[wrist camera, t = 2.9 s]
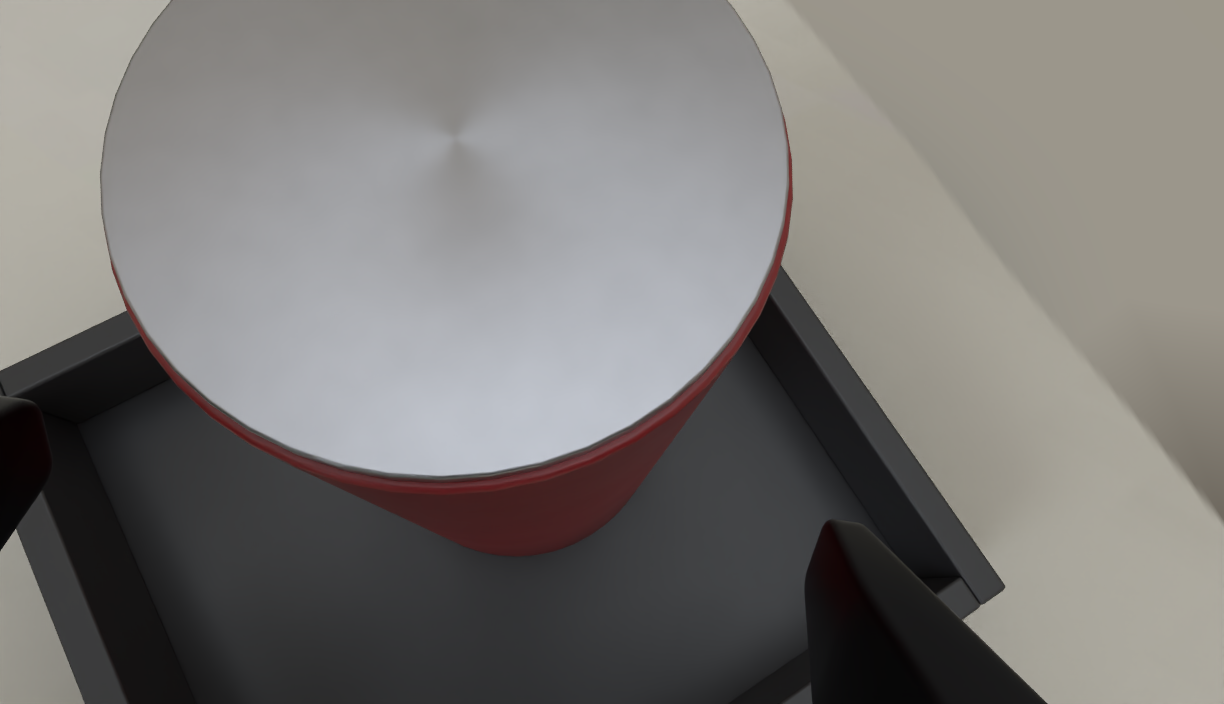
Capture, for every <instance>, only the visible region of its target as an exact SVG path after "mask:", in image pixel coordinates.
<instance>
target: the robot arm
mask: <svg viewBox="0 0 1224 704" xmlns="http://www.w3.org/2000/svg"><path fill="white" fill-rule="evenodd" d="M52 468H53V457H52V453H51V448H50V444H49V440H48V436H47V432H46V428H45V423H44V419H43V415H42V412H41V409H40V408H39V407H38V405H37V404H36V403H34V402H32V401H30V400H25V399H19V398H12V397H5V396H0V551H1V549H2V548H3V546H4V545H5V543H6V542H7V540H8V539H9V538H10V536H11V535H12V533H13V532H14V530H15V529H16V527H17V526H18V524H19V523H20V522H21V520H22V519H23V517H24V516H25V514H26V513H27V511H28V510H29V508H30V507H31V506H32V504H33V503H34V501H35V500H36V498H37V497H38V495H39V494H40V493H41V491H42V490H43V488H44V487H45V485H46V484H47V482H48V480H49V478H50V476H51V473H52ZM804 595H805V609H806V623H807V637H808V651H809V665H810V679H811V693H812V704H1047V703H1046V702H1045V701H1044V700H1043V699H1042V698H1041V697H1040V696H1039V695H1038V694H1037V693H1036V692H1035V691H1034V690H1033V689H1032V688H1031V687H1030V686H1029V685H1028V684H1027V683H1026V682H1025V681H1024V680H1023V679H1022V678H1021V677H1020V676H1019V675H1018V674H1017V673H1016V672H1014V671H1013V670H1012V669H1011V668H1010V667H1009V666H1008V665H1007V664H1006V663H1005V662H1004V661H1003V660H1002V659H1001V658H1000V657H999V656H998V655H997V654H996V653H995V652H994V651H993V650H992V649H991V648H990V647H989V646H988V645H987V644H986V643H985V642H984V641H983V640H982V639H981V638H980V637H979V636H978V635H977V634H976V633H975V632H973V631H972V630H971V629H970V628H969V627H968V626H967V625H966V624H965V623H964V622H963V621H962V620H961V619H960V618H959V617H958V616H957V615H956V614H955V613H954V612H953V611H952V610H951V609H950V608H949V607H948V606H947V605H946V604H945V603H944V602H943V601H942V600H941V599H940V598H939V597H938V596H937V595H936V594H935V593H934V592H933V591H931V590H930V589H929V588H928V587H927V586H926V585H925V584H924V583H923V582H922V581H921V580H920V579H919V578H918V577H917V576H916V575H915V574H914V573H913V572H912V571H911V570H910V569H909V568H908V567H907V566H906V565H905V564H904V563H903V562H902V561H901V560H900V559H899V558H898V557H897V556H896V555H895V554H894V553H893V552H892V551H891V550H889V549H888V548H887V547H886V546H885V545H884V544H883V543H882V542H881V541H880V540H879V539H878V538H877V537H876V536H875V535H874V534H873V533H872V532H871V531H870V530H869V529H868V528H867V527H866V526H864V525H863V524H860V523H856V522H849V521H842V520H836V519H830V520H828V521H826V522H825V524H824V525H823V527H822V529H821V531H820V534H819V537H818V540H817V543H816V546H815V548H814V551H813V554H812V557H811V560H810V563H809V566H808V569H807V572H806V577H805V585H804Z"/></svg>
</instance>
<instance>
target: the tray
mask: <svg viewBox="0 0 1224 704" xmlns="http://www.w3.org/2000/svg"><path fill="white" fill-rule="evenodd" d="M0 396H5V397H12V398H19V399H25V400H30V401H32V402H34V403H36V404H37V405H38V407H39V408H40V409H41V412H42V415H43V419H44V423H45V428H46V432H47V436H48V440H49V444H50V448H51V453H52V457H53V468H52V473H51V476H50V478H49V480H48V482H47V484H46V485H45V487H44V488H43V490H42V491H41V493H40V494H39V495H38V497H37V498H36V500H35V501H34V503H33V504H32V506H31V507H30V508H29V510H28V511H27V513H26V514H25V516H24V517H23V519H22V520H21V522H20V523H19V524H18V526H17V527H16V530H17V532H18V535H19V537H20V540H21V542H22V545H23V548H24V550H25V553H26V555H27V558H28V560H29V563H30V565H31V568H32V570H33V573H34V575H35V578H36V581H37V583H38V586H39V588H40V591H41V593H42V596H43V598H44V601H45V603H46V606H47V608H48V611H49V614H50V616H51V619H52V621H53V624H54V626H55V629H56V631H57V634H58V636H59V639H60V641H61V644H62V646H63V649H64V652H65V654H66V657H67V659H68V662H69V664H70V667H71V669H72V672H73V674H74V677H75V679H76V682H77V685H78V687H79V690H80V692H81V695H82V697H83V700H84V702H85V704H812V693H811V679H810V665H809V651H808V637H807V623H806V609H805V595H804V585H805V577H806V572H807V569H808V566H809V563H810V560H811V557H812V554H813V551H814V548H815V546H816V543H817V540H818V537H819V534H820V531H821V529H822V527H823V525H824V524H825V522H826V521H828V520H830V519H836V520H842V521H849V522H856V523H860V524H863V525H864V526H866V527H867V528H868V529H869V530H870V531H871V532H872V533H873V534H874V535H875V536H876V537H877V538H878V539H879V540H880V541H881V542H882V543H883V544H884V545H885V546H886V547H887V548H888V549H889V550H891V551H892V552H893V553H894V554H895V555H896V556H897V557H898V558H899V559H900V560H901V561H902V562H903V563H904V564H905V565H906V566H907V567H908V568H909V569H910V570H911V571H912V572H913V573H914V574H915V575H916V576H917V577H918V578H919V579H920V580H921V581H922V582H923V583H924V584H925V585H926V586H927V587H928V588H929V589H930V590H931V591H933V592H934V593H935V594H936V595H937V596H938V597H939V598H940V599H941V600H942V601H943V602H944V603H945V604H946V605H947V606H948V607H949V608H950V609H951V610H952V611H953V612H954V613H955V614H956V615H957V616H958V617H959V618H960V619H961V620H963V619H964V618H965V617H967V616H968V615H970V614H971V613H972V612H974V611H975V610H977V609H978V608H979V607H980V605H981V604H985V603H986V602H987V601H989V600H990V599H992V598H993V597H994V596H996V595H997V594H999V593H1000V592H1001V591H1003V590H1004V588H1005V585H1004V583H1003V582H1002V581H1001V579H1000V578H999V576H998V575H997V573H996V572H995V571H994V569H993V568H992V566H991V565H990V563H989V562H988V561H987V559H986V558H985V556H984V555H983V553H982V552H981V551H980V549H979V548H978V546H977V545H976V543H975V542H974V541H973V539H972V538H971V536H970V535H969V533H968V532H967V531H966V529H965V528H964V526H963V525H962V523H961V522H960V521H959V519H958V518H957V516H956V515H955V513H954V512H953V511H952V509H951V508H950V506H949V505H948V503H947V502H946V501H945V499H944V498H943V496H942V495H941V493H940V492H939V491H938V489H937V488H936V486H935V485H934V483H933V482H932V481H931V479H930V478H929V476H928V475H927V473H926V472H925V470H924V469H923V468H922V466H921V465H920V463H919V462H918V460H917V459H916V458H915V456H914V455H913V453H912V452H911V450H910V449H909V448H908V446H907V445H906V443H905V442H904V440H903V439H902V438H901V436H900V435H899V433H898V432H897V430H896V429H895V428H894V426H893V425H892V423H891V422H890V420H889V419H888V418H887V416H886V415H885V413H884V412H883V410H882V409H881V408H880V406H879V405H878V403H877V402H876V400H875V399H874V398H873V396H872V395H871V393H870V392H869V390H868V389H867V388H866V386H865V385H864V383H863V382H862V380H861V379H860V378H859V376H858V375H857V373H856V372H855V370H854V369H853V368H852V366H851V365H850V363H849V362H848V360H847V359H846V358H845V356H844V355H843V353H842V352H841V350H840V349H839V348H838V346H837V345H836V343H835V342H834V340H833V339H832V338H831V336H830V335H829V333H828V332H827V330H826V329H825V328H824V326H823V325H822V323H821V322H820V320H819V319H818V318H817V316H816V315H815V313H814V312H813V310H812V309H811V308H810V306H809V305H808V303H807V302H806V300H805V299H804V298H803V296H802V295H801V293H800V292H799V290H798V289H797V288H796V286H795V285H794V283H793V282H792V280H791V279H790V278H789V276H788V275H787V273H786V272H785V270H784V269H783V268H782V266H781V265H780V268H779V272H778V275H777V278H776V280H775V283H774V285H773V287H772V289H771V292H770V294H769V296H768V299H767V301H766V303H765V305H764V308H763V310H762V312H761V315H760V316H759V318H758V319H757V321H756V323H755V324H754V326H753V327H752V329H751V331H750V332H749V334H748V335H747V337H746V339H745V340H744V342H743V343H742V345H741V347H740V348H739V350H738V351H737V353H736V354H735V356H734V357H733V358H732V360H731V361H730V362H729V364H728V365H727V367H726V368H725V369H724V371H723V372H722V373H721V375H720V376H719V378H718V379H717V380H716V382H715V383H714V384H713V386H712V387H711V388H710V390H709V391H708V393H707V394H706V395H705V397H704V398H703V399H702V401H701V402H700V404H699V405H698V406H697V408H696V409H695V410H694V412H693V413H692V415H691V416H690V417H689V419H688V420H687V421H686V423H685V424H684V425H683V427H682V428H681V430H680V431H679V432H678V434H677V435H676V436H675V438H674V439H673V441H672V442H671V443H670V445H669V446H668V447H667V449H666V450H665V452H664V453H663V454H662V456H661V457H660V458H659V460H658V461H657V462H656V464H655V465H654V467H653V468H652V469H651V471H650V472H649V473H648V475H647V476H646V478H645V479H644V480H643V482H642V483H641V484H640V486H639V487H638V489H637V490H636V491H635V493H634V494H633V495H632V497H631V498H630V499H629V501H628V502H627V503H626V504H625V505H624V507H623V508H622V509H621V510H620V511H619V513H618V514H616V515H615V516H614V517H613V518H612V519H611V520H610V521H609V522H608V523H607V524H606V525H604V526H603V527H602V528H600V529H599V530H597V531H596V532H594V533H593V534H592V535H590V536H588V537H586V538H585V539H583V540H581V541H579V542H577V543H575V544H573V545H570V546H568V547H565V548H562V549H559V550H557V551H553V552H548V553H544V554H539V555H531V556H519V557H518V556H499V555H494V554H488V553H483V552H479V551H476V550H473V549H470V548H467V547H464V546H462V545H460V544H457V543H455V542H453V541H451V540H449V539H447V538H445V537H443V536H440V535H438V534H436V533H434V532H432V531H430V530H428V529H425V528H423V527H421V526H419V525H417V524H415V523H413V522H410V521H408V520H406V519H404V518H402V517H400V516H398V515H395V514H393V513H391V512H389V511H387V510H385V509H383V508H381V507H378V506H376V505H374V504H372V503H370V502H368V501H366V500H363V499H361V498H359V497H357V496H355V495H353V494H351V493H348V492H346V491H344V490H342V489H340V488H338V487H336V486H334V485H331V484H329V483H327V482H325V481H323V480H321V479H319V478H316V477H314V476H312V475H310V474H308V473H306V472H304V471H301V470H299V469H297V468H295V467H293V466H291V465H289V464H287V463H285V462H283V461H281V460H279V459H277V458H275V457H273V456H271V455H269V454H267V453H265V452H263V451H261V450H259V449H257V448H255V447H253V446H251V445H249V444H248V443H247V442H245V441H244V440H242V439H241V438H239V437H238V436H236V435H235V434H234V433H232V432H231V431H229V430H228V429H226V428H225V427H223V426H222V425H221V424H219V423H218V422H216V421H215V420H213V419H212V418H211V417H210V416H209V415H208V414H206V413H205V412H204V411H203V410H202V409H201V408H200V407H199V406H198V405H197V404H196V403H195V402H194V401H193V400H191V399H190V398H189V397H188V396H187V395H186V394H185V393H184V392H183V391H182V390H181V389H180V388H179V387H178V386H177V385H176V384H175V383H174V381H173V380H172V379H171V378H170V376H169V375H168V374H167V372H166V371H165V370H164V369H163V367H162V366H161V365H160V364H159V362H158V361H157V360H156V358H155V357H154V356H153V355H152V353H151V352H150V351H149V349H148V347H147V346H146V344H145V342H144V340H143V338H142V337H141V335H140V333H139V331H138V330H137V328H136V326H135V324H134V322H133V321H132V319H131V317H130V315H129V314H128V311H125V312H123V313H121V314H119V315H117V316H115V317H112V318H110V319H108V320H106V321H104V322H102V323H100V324H98V325H96V326H94V327H91V328H89V329H87V330H85V331H83V332H81V333H79V334H77V335H75V336H73V337H71V338H68V339H66V340H64V341H62V342H60V343H58V344H56V345H54V346H52V347H50V348H47V349H45V350H43V351H41V352H39V353H37V354H35V355H33V356H31V357H29V358H26V359H24V360H22V361H20V362H18V363H16V364H14V365H12V366H10V367H8V368H5V369H3V370H1V371H0Z"/></svg>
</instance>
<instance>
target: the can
mask: <svg viewBox="0 0 1224 704" xmlns="http://www.w3.org/2000/svg"><path fill="white" fill-rule="evenodd" d="M100 183H101V210H102V219H103V224H104V230H105V235H106V240H107V245H108V250H109V255H110V260H111V265H112V270H113V274H114V276H115V279H116V282H117V284H118V287H119V290H120V293H121V295H122V298H123V301H124V303H125V306H126V309H127V311H128V314H129V315H130V317H131V319H132V321H133V322H134V324H135V326H136V328H137V330H138V331H139V333H140V335H141V337H142V338H143V340H144V342H145V344H146V346H147V347H148V349H149V351H150V352H151V353H152V355H153V356H154V357H155V358H156V360H157V361H158V362H159V364H160V365H161V366H162V367H163V369H164V370H165V371H166V372H167V374H168V375H169V376H170V378H171V379H172V380H173V381H174V383H175V384H176V385H177V386H178V387H179V388H180V389H181V390H182V391H183V392H184V393H185V394H186V395H187V396H188V397H189V398H190V399H191V400H193V401H194V402H195V403H196V404H197V405H198V406H199V407H200V408H201V409H202V410H203V411H204V412H205V413H206V414H208V415H209V416H210V417H211V418H212V419H213V420H215V421H216V422H218V423H219V424H221V425H222V426H223V427H225V428H226V429H228V430H229V431H231V432H232V433H234V434H235V435H236V436H238V437H239V438H241V439H242V440H244V441H245V442H247V443H248V444H249V445H251V446H253V447H255V448H257V449H259V450H261V451H263V452H265V453H267V454H269V455H271V456H273V457H275V458H277V459H279V460H281V461H283V462H285V463H287V464H289V465H291V466H293V467H295V468H297V469H299V470H301V471H304V472H306V473H308V474H310V475H312V476H314V477H316V478H319V479H321V480H323V481H325V482H327V483H329V484H331V485H334V486H336V487H338V488H340V489H342V490H344V491H346V492H348V493H351V494H353V495H355V496H357V497H359V498H361V499H363V500H366V501H368V502H370V503H372V504H374V505H376V506H378V507H381V508H383V509H385V510H387V511H389V512H391V513H393V514H395V515H398V516H400V517H402V518H404V519H406V520H408V521H410V522H413V523H415V524H417V525H419V526H421V527H423V528H425V529H428V530H430V531H432V532H434V533H436V534H438V535H440V536H443V537H445V538H447V539H449V540H451V541H453V542H455V543H457V544H460V545H462V546H464V547H467V548H470V549H473V550H476V551H479V552H483V553H488V554H494V555H499V556H518V557H519V556H531V555H539V554H544V553H548V552H553V551H557V550H559V549H562V548H565V547H568V546H570V545H573V544H575V543H577V542H579V541H581V540H583V539H585V538H586V537H588V536H590V535H592V534H593V533H594V532H596V531H597V530H599V529H600V528H602V527H603V526H604V525H606V524H607V523H608V522H609V521H610V520H611V519H612V518H613V517H614V516H615V515H616V514H618V513H619V511H620V510H621V509H622V508H623V507H624V505H625V504H626V503H627V502H628V501H629V499H630V498H631V497H632V495H633V494H634V493H635V491H636V490H637V489H638V487H639V486H640V484H641V483H642V482H643V480H644V479H645V478H646V476H647V475H648V473H649V472H650V471H651V469H652V468H653V467H654V465H655V464H656V462H657V461H658V460H659V458H660V457H661V456H662V454H663V453H664V452H665V450H666V449H667V447H668V446H669V445H670V443H671V442H672V441H673V439H674V438H675V436H676V435H677V434H678V432H679V431H680V430H681V428H682V427H683V425H684V424H685V423H686V421H687V420H688V419H689V417H690V416H691V415H692V413H693V412H694V410H695V409H696V408H697V406H698V405H699V404H700V402H701V401H702V399H703V398H704V397H705V395H706V394H707V393H708V391H709V390H710V388H711V387H712V386H713V384H714V383H715V382H716V380H717V379H718V378H719V376H720V375H721V373H722V372H723V371H724V369H725V368H726V367H727V365H728V364H729V362H730V361H731V360H732V358H733V357H734V356H735V354H736V353H737V351H738V350H739V348H740V347H741V345H742V343H743V342H744V340H745V339H746V337H747V335H748V334H749V332H750V331H751V329H752V327H753V326H754V324H755V323H756V321H757V319H758V318H759V316H760V315H761V312H762V310H763V308H764V305H765V303H766V301H767V299H768V296H769V294H770V292H771V289H772V287H773V285H774V283H775V280H776V278H777V275H778V272H779V268H780V265H781V261H782V257H783V254H784V250H785V246H786V243H787V239H788V233H789V225H790V217H791V208H792V200H793V188H792V158H791V152H790V146H789V140H788V134H787V128H786V122H785V119H784V115H783V112H782V108H781V105H780V102H779V98H778V95H777V92H776V89H775V86H774V83H773V80H772V76H771V73H770V71H769V69H768V67H767V65H766V63H765V61H764V59H763V56H762V54H761V52H760V50H759V48H758V46H757V44H756V42H755V40H754V38H753V37H752V35H751V34H750V32H749V31H748V29H747V27H746V26H745V24H744V23H743V21H742V20H741V18H740V17H739V15H738V14H737V12H736V11H735V9H734V8H733V7H732V5H731V4H730V3H729V2H728V1H727V0H171V1H170V3H169V4H168V5H167V6H166V8H165V9H164V10H163V11H162V13H161V14H160V15H159V16H158V18H157V19H156V20H155V21H154V22H153V24H152V25H151V27H150V29H149V30H148V32H147V34H146V35H145V37H144V38H143V40H142V42H141V43H140V45H139V47H138V48H137V50H136V52H135V53H134V55H133V56H132V58H131V60H130V63H129V65H128V67H127V70H126V72H125V74H124V76H123V79H122V81H121V83H120V86H119V88H118V90H117V92H116V95H115V99H114V102H113V106H112V109H111V113H110V117H109V120H108V124H107V128H106V131H105V137H104V145H103V154H102V162H101V171H100Z"/></svg>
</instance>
